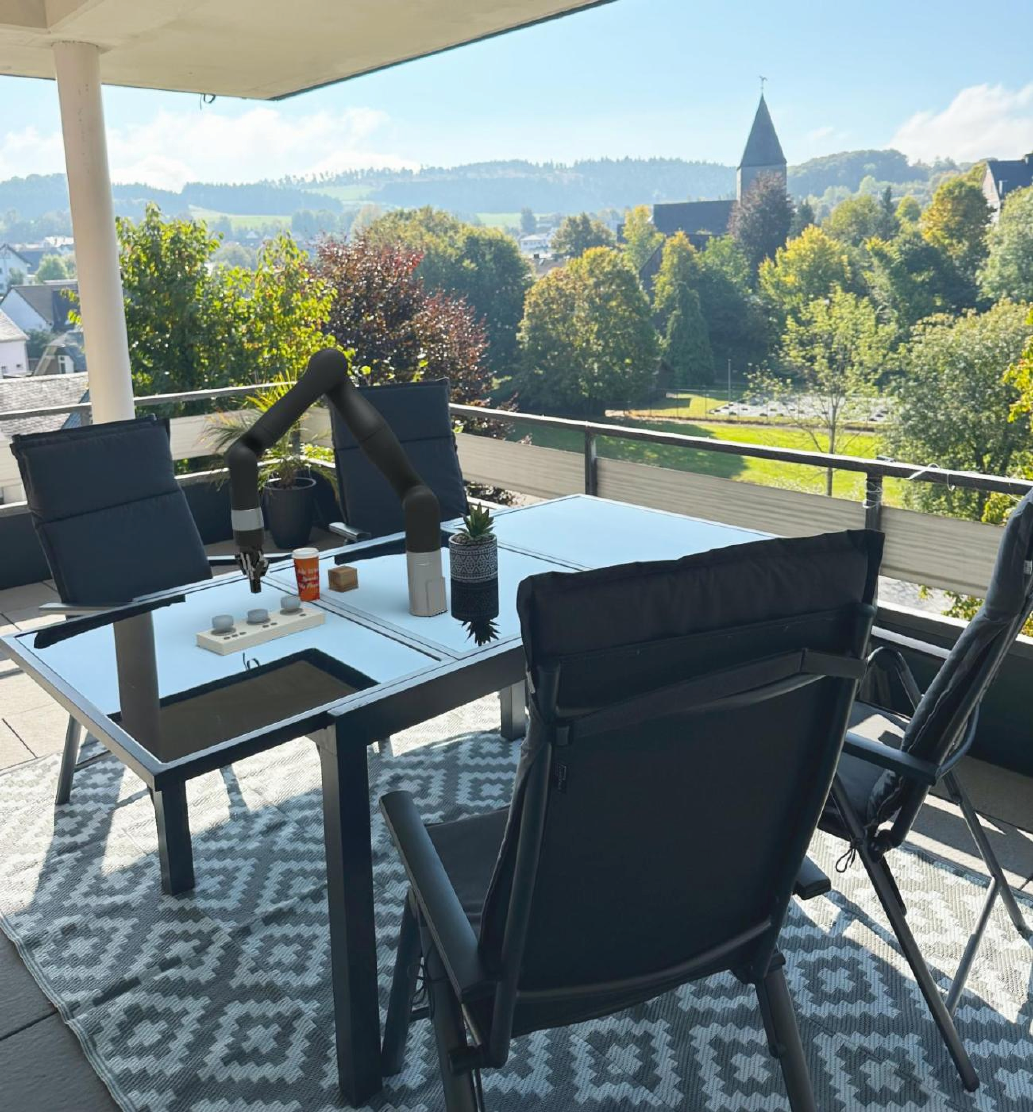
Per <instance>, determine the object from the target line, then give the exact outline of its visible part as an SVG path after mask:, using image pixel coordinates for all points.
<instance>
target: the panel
mask: <svg viewBox="0 0 1033 1112" xmlns="http://www.w3.org/2000/svg"><path fill="white" fill-rule="evenodd" d="M325 615H326V613H325V612H324V611H322V610H318V609H314V608H311V607H308V606H304V605H301V606H300V607H297V608H293V609H283V608H279V609H277V610H272V611H269V612H268V620H266V621H264V622H258V623H252V622H249V621H248V618H245V619H242V620H238V621H235V622H233V624H234V625H233V626H232V627H230V628H226V629H214V628H211V629H207V630H205V631H200V632H198V633H195V637H196V644H197V646H199V647H201V648H204V649H206V650H209V651H211V652H212V653H213V652H214V653H216V654H218V655H221V656H226V655H229V654H233V653H236V652H239V651H242V650H245V649H248V648H252V647H255V646H254V645H256V646H258V644H259V645H262V644H263V643H262V642H265V641H268V642H270V641H269V640H271V641H273V640H272V639H274V638H278V639H280V638H279V637H281V636H284V635H286V634H290V635H293V634H292V633H294V632H297V631H300V630H303V631H306V630H309V629H311V628H310V627H313V626H316V627H318V625H319V626H321V625H320V624H322V625H324V624H323V623H325V624H326V616H325ZM308 628H309V629H308ZM313 628H314V627H313ZM305 629H306V630H305ZM300 632H301V631H300ZM297 633H298V632H297ZM294 634H295V633H294ZM284 637H285V636H284ZM281 638H282V637H281ZM261 643H262V644H261ZM265 643H266V642H265ZM251 646H252V647H251Z"/></svg>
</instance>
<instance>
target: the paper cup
mask: <svg viewBox="0 0 1033 1112" xmlns="http://www.w3.org/2000/svg"><path fill="white" fill-rule="evenodd" d="M320 555H321V553H320V552H319V550H318V549H317V548H315V547H302V548H297V549H294V550H293V551H292V554H291V558H292V559H293V561H292V562H293V566H294V575H295V580H296V585H297V586H296V587H297V592H298V593H297V594H298V596H299V597H300V602H314V600H315V601H317V599H318V600H319V599H320V592H321V591H320V588H321V587H320V562H319V561H320V559H319V556H320Z"/></svg>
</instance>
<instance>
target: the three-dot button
mask: <svg viewBox="0 0 1033 1112" xmlns="http://www.w3.org/2000/svg"><path fill="white" fill-rule="evenodd" d="M233 618H234V617H233V615H230V614H220V615H216V616H214V617H212V618H211V625H212V629H226V628H230V627H232V626H233V625H234V624H233V623H234V619H233Z"/></svg>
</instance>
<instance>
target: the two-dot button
mask: <svg viewBox="0 0 1033 1112" xmlns="http://www.w3.org/2000/svg"><path fill="white" fill-rule="evenodd" d="M268 613H269V612H268V609H266V608H265V609H264V608H257V609H251V610H249V611H247V619H248V621H249V622H252V623H258V622H264V621H266V620H268Z"/></svg>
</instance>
